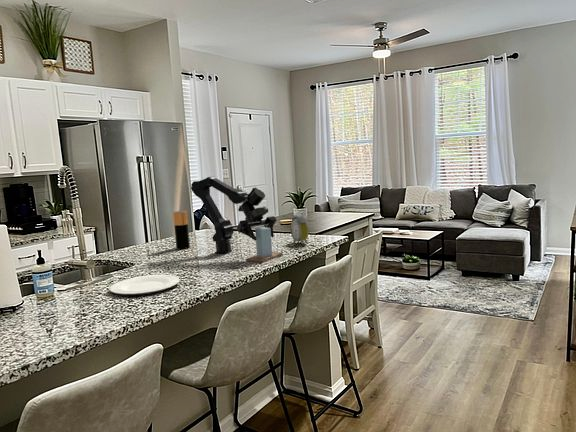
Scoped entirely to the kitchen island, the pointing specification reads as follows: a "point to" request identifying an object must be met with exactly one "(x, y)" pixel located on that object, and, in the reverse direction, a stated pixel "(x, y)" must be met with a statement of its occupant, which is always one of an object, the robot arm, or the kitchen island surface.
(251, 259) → the tan flat board
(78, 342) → the kitchen island surface
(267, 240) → the slate-blue post
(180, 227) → the battery
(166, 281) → the plate
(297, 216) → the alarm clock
